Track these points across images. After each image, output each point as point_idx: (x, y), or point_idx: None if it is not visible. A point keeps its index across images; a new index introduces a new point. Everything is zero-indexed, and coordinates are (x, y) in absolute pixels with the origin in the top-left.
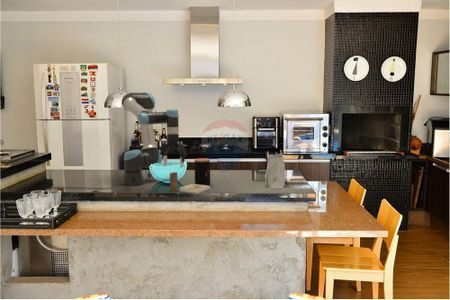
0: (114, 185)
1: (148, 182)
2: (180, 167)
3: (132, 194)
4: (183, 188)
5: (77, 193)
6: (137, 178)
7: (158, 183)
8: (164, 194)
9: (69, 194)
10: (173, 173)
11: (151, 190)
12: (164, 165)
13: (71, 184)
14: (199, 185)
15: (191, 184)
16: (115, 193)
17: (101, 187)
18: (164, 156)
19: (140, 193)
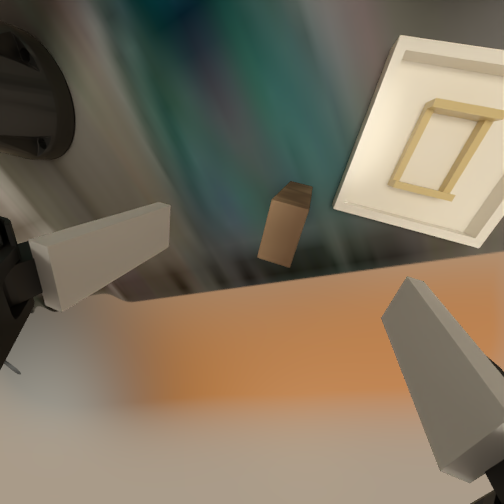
0: (8, 166)
1: (52, 19)
2: (384, 319)
3: (166, 292)
4: (362, 215)
5: (36, 300)
6: (29, 125)
7: (113, 19)
8: (278, 276)
9: (33, 312)
10: (291, 261)
11: (187, 216)
12: (165, 248)
13: None
14: (479, 63)
15: (396, 69)
16: (111, 287)
17: (10, 214)
18: (69, 300)
19: (180, 275)
